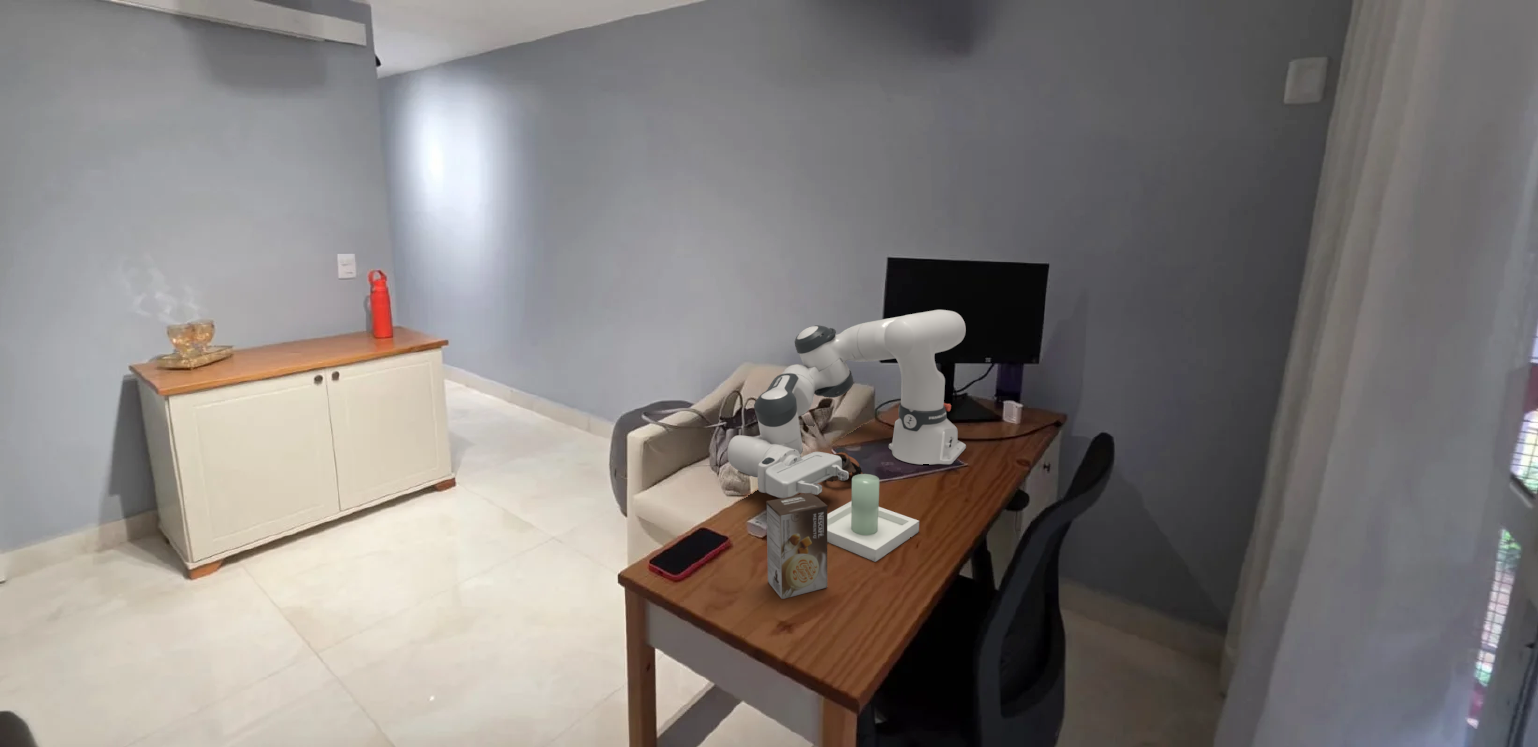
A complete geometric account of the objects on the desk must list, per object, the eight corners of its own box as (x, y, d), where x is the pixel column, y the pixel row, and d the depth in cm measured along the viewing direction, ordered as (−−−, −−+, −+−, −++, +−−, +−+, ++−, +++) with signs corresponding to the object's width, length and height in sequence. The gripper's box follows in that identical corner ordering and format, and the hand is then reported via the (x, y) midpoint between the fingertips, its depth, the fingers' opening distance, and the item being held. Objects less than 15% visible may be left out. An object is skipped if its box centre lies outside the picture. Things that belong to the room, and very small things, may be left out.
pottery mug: (869, 491, 159) (854, 466, 155) (833, 504, 161) (818, 480, 158) (863, 460, 169) (850, 436, 166) (830, 474, 172) (816, 450, 168)
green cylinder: (860, 520, 141) (861, 471, 138) (882, 527, 138) (884, 478, 135) (845, 529, 137) (846, 480, 134) (868, 537, 133) (869, 487, 131)
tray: (855, 508, 148) (855, 498, 148) (918, 531, 138) (919, 520, 137) (810, 534, 137) (810, 523, 136) (875, 561, 127) (875, 550, 126)
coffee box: (811, 570, 124) (812, 491, 120) (828, 588, 118) (829, 505, 114) (766, 581, 120) (765, 500, 116) (781, 600, 114) (780, 515, 110)
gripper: (812, 466, 157) (861, 482, 148) (753, 494, 143) (803, 513, 134) (812, 441, 156) (862, 455, 147) (753, 466, 141) (803, 484, 132)
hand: (833, 483), depth 140 cm, fingers open, 8 cm apart
